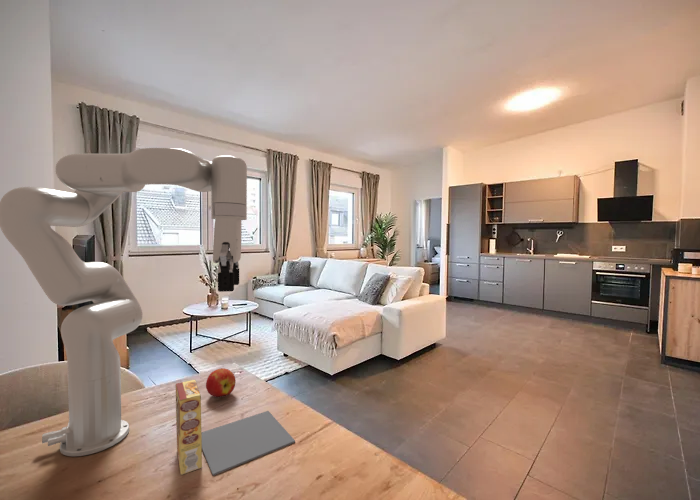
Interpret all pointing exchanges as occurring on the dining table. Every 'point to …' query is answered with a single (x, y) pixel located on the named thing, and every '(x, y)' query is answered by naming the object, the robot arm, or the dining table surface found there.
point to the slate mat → (243, 441)
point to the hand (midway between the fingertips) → (229, 287)
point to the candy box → (188, 426)
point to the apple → (220, 383)
